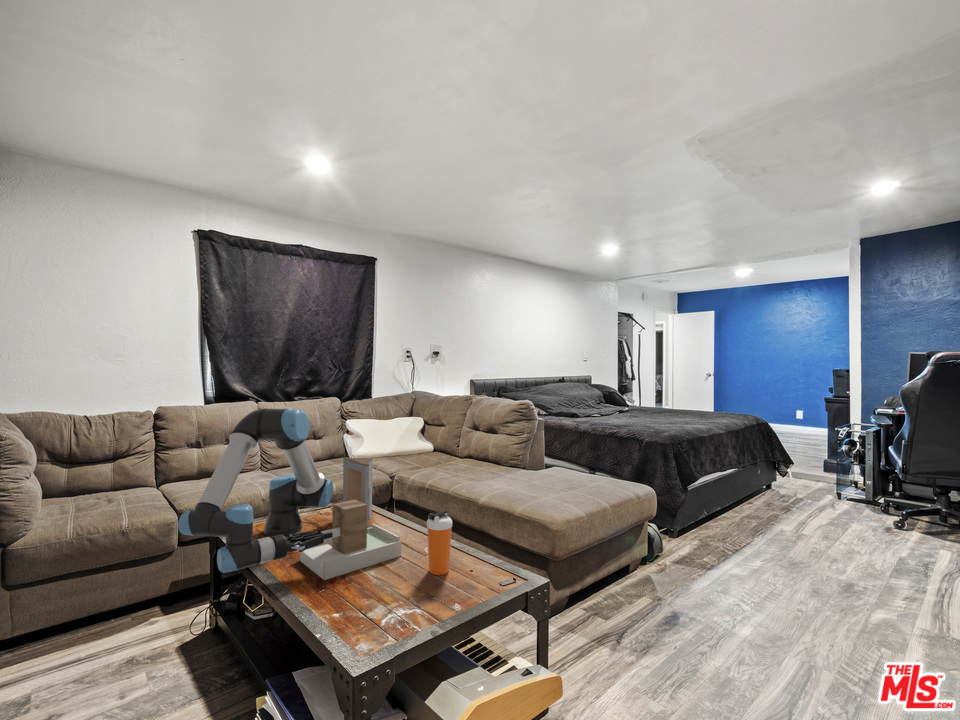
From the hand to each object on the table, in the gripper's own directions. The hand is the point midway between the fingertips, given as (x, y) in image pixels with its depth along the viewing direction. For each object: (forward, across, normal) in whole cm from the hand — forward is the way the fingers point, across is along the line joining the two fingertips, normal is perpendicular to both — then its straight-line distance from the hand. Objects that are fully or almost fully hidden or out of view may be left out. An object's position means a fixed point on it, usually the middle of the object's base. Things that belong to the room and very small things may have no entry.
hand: (339, 531), depth 169 cm
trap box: (+5, -1, -11) cm, 13 cm away
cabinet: (+29, -36, -12) cm, 48 cm away
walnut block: (+5, -1, -7) cm, 9 cm away
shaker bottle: (+24, +28, -12) cm, 39 cm away
